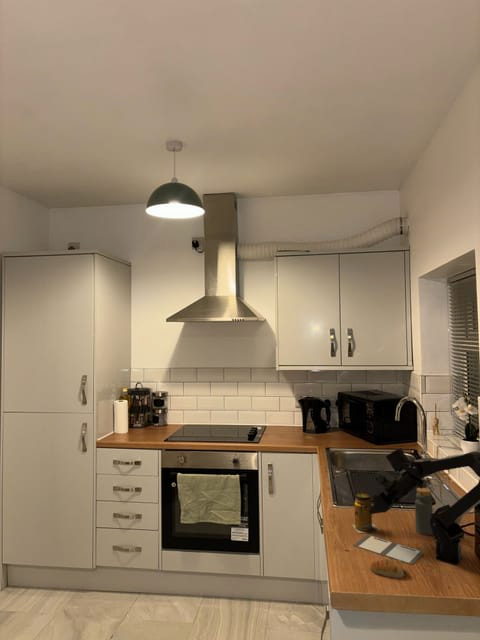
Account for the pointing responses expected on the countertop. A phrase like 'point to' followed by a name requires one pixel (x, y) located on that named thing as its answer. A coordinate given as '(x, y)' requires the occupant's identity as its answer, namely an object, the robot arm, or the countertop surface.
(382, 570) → the pastry
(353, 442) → the countertop surface
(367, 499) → the condiment
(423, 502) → the bottle
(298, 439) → the countertop surface
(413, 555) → the mat
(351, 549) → the countertop surface
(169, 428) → the countertop surface
